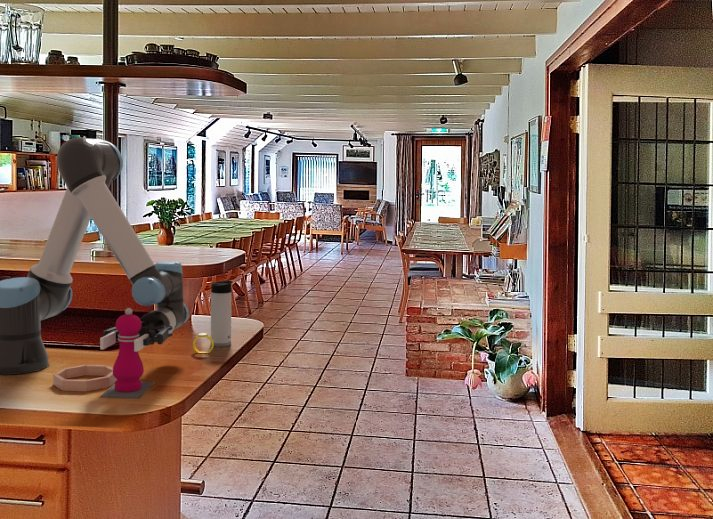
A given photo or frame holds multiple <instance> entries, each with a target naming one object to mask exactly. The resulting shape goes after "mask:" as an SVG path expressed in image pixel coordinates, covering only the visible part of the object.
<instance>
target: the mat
mask: <svg viewBox="0 0 713 519" xmlns="http://www.w3.org/2000/svg"><path fill="white" fill-rule="evenodd" d="M154 384H155V382H154V381H142V382H141V389H140V390H137V391H133V392H120V391H116V390H115V383H113V384H112V385H111V386H110V387H108V389H107V390H105V391H104V392H103V393H102V394H100V398H106V399H107V398H109V399H133V400H134V399H137V400H138V399H140V398H141V397H142V396H143V395H144V394H145V393H146V392H147V391H148V390H149V389H150V388H152V386H153V385H154Z"/></svg>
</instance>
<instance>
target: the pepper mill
mask: <svg viewBox="0 0 713 519" xmlns="http://www.w3.org/2000/svg"><path fill="white" fill-rule="evenodd" d="M133 311H134V310H133V309H132V308H130V307H127V308H125V310H124V314H122V315H120V316H119V317H118V318H117V319H116V322H115V327H116V330H117V331H118V332H119V334H118V341H117V342H119V350H118V354H117V356H116V359H115V362H114V364H113V367H112V368H113V375H114V377H115V378H116V379H117V380H116V381H115V383H114V384H115V390H116V391H120V392H133V391H137V390H140V389H141V382H143V381H142V379H140V378H142V376H143V375H144V371H145V368H144V364H143V361H142V359H141V357H140V354H139V351H138V352H136V351H134V340H135V339H137V338H139V334H138V332H139V331H140V329H141V326H142V323H141V320H140V318H141V317H139V316H137V315H136V314H133Z"/></svg>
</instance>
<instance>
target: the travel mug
mask: <svg viewBox="0 0 713 519" xmlns="http://www.w3.org/2000/svg"><path fill="white" fill-rule="evenodd" d="M232 284H233V281H232V280H220V281H216V282H212V283H211V285H210V287H211V288H210V289H211V291H210V337H211V338H212V340H213V342H214V347H215V346H216V347H217V348H224V346H225V347H229V346H231V345H232V292H233V291H232ZM210 345H211V346H212V344H211V343H210Z"/></svg>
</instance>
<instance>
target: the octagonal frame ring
mask: <svg viewBox="0 0 713 519" xmlns="http://www.w3.org/2000/svg"><path fill="white" fill-rule="evenodd" d="M83 376H94V377H95V376H101V377H95V378H89V379H72V378H77V377H83ZM116 380H117V379H116V378H115V377H114V375H113V367H111V366H110V365H102V364H81V365H77V366H71V367H70V366H69V367H66V368H62V369H61V370H58V371H57V372H55V373H54V374H52V382H53V383H52V384H53V386H55V387H57V388H58V389H59V390H61V391H64V392H65V391H67V392H70V391H71V392H91V391H95V390H100V389H105V388H111V387H112V386H113V385H114V384H115V381H116Z"/></svg>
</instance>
